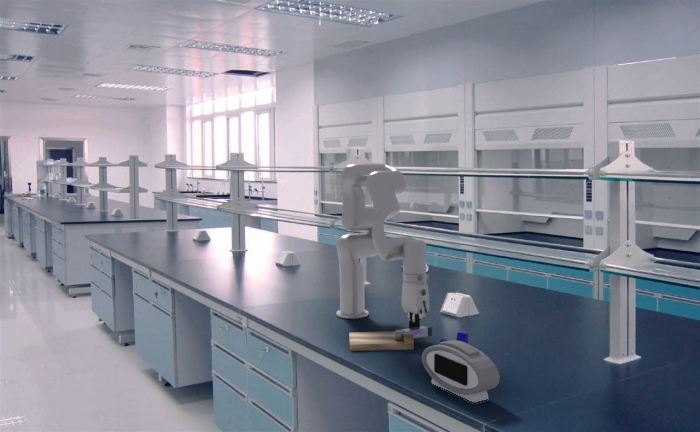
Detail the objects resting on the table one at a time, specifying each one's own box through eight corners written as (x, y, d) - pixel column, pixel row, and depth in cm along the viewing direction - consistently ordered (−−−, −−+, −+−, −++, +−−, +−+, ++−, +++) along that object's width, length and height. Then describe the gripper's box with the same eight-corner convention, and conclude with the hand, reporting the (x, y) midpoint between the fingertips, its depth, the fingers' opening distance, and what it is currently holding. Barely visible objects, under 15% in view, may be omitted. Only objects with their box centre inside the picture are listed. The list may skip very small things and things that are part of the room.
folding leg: (398, 341, 195) (398, 332, 195) (393, 339, 198) (393, 330, 197) (432, 336, 201) (432, 327, 200) (427, 333, 203) (427, 324, 203)
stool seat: (349, 338, 208) (349, 323, 207) (408, 337, 208) (408, 322, 208) (350, 350, 194) (350, 335, 193) (413, 349, 194) (413, 333, 194)
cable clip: (453, 362, 182) (453, 342, 181) (440, 359, 184) (440, 340, 184) (472, 352, 191) (472, 333, 190) (459, 349, 194) (459, 331, 193)
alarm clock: (421, 380, 166) (421, 334, 165) (439, 376, 169) (439, 331, 168) (480, 409, 146) (480, 357, 145) (499, 404, 150) (500, 352, 149)
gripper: (437, 280, 197) (437, 336, 198) (410, 272, 210) (410, 325, 211) (418, 283, 193) (418, 340, 195) (392, 275, 206) (392, 328, 208)
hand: (414, 332), depth 203 cm, fingers closed
